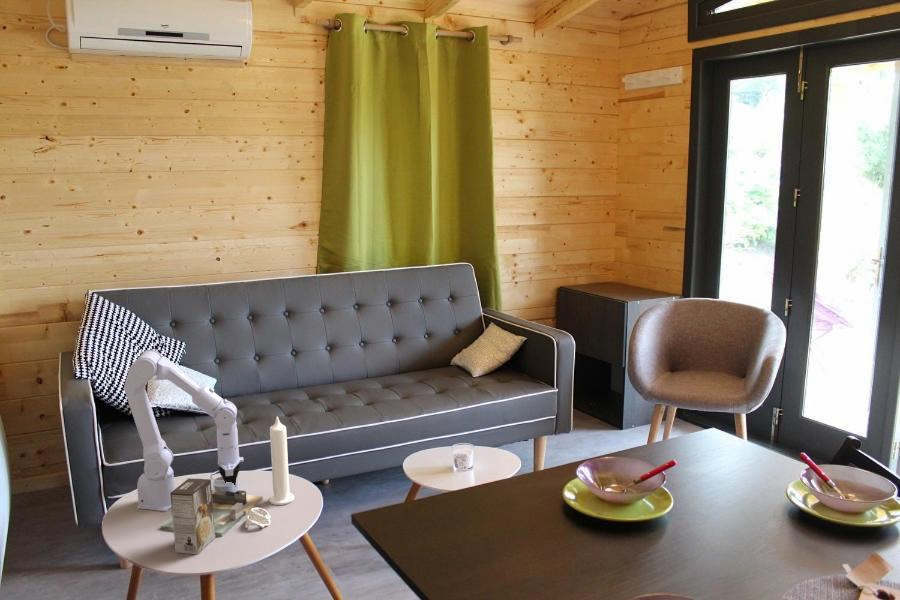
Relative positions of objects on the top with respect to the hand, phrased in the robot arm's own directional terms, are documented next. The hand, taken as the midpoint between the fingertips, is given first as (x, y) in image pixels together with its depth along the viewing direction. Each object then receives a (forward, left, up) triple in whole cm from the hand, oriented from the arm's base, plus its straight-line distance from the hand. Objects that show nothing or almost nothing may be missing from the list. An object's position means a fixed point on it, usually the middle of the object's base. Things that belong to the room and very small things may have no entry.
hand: (230, 490), depth 218 cm
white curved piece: (+15, -12, -3) cm, 20 cm away
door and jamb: (0, -10, -3) cm, 10 cm away
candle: (+15, +2, -3) cm, 15 cm away
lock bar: (+2, -5, -1) cm, 5 cm away
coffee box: (+5, -26, -3) cm, 27 cm away
